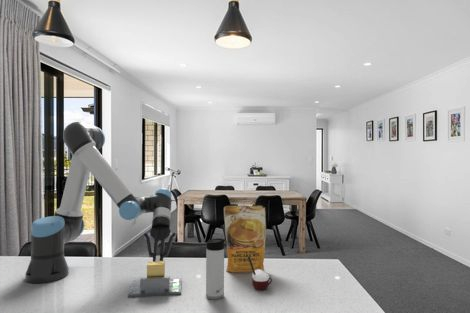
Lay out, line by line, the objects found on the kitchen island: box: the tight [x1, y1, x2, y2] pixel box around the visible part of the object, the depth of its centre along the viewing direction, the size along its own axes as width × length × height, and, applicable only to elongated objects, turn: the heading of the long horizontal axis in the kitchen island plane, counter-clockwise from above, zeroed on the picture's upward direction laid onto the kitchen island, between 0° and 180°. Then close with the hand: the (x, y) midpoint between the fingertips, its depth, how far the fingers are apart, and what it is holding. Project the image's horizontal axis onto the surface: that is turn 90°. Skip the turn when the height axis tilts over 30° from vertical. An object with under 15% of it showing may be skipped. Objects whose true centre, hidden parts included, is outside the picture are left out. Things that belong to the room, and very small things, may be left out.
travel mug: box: [205, 237, 226, 301], centre depth 112 cm, size 6×7×20 cm
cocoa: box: [248, 256, 273, 291], centre depth 119 cm, size 10×6×12 cm, turn 86°
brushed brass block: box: [146, 260, 177, 284], centre depth 116 cm, size 10×4×9 cm, turn 98°
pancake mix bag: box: [223, 204, 267, 274], centre depth 139 cm, size 7×19×28 cm, turn 95°
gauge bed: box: [127, 276, 183, 298], centre depth 118 cm, size 18×13×6 cm
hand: (156, 272), depth 120 cm, fingers closed
